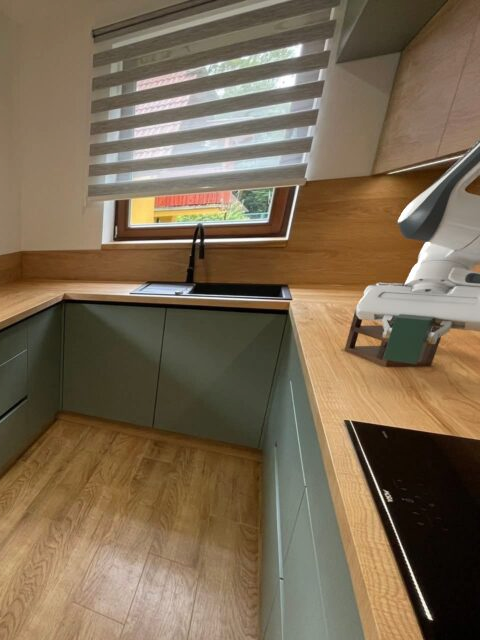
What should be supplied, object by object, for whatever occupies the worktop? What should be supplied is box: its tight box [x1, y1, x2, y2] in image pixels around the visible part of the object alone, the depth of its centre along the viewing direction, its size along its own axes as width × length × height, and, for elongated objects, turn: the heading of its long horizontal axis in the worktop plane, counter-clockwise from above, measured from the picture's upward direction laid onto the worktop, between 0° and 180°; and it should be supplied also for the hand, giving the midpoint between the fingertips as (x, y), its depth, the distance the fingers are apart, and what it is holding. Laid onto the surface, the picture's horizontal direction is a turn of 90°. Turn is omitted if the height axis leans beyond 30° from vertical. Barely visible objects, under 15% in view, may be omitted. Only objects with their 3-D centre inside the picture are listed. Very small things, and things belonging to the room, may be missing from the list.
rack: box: [344, 308, 442, 368], centre depth 107 cm, size 10×14×12 cm
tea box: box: [383, 314, 435, 364], centre depth 88 cm, size 5×5×9 cm
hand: (408, 339), depth 87 cm, fingers closed on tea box, 5 cm apart
